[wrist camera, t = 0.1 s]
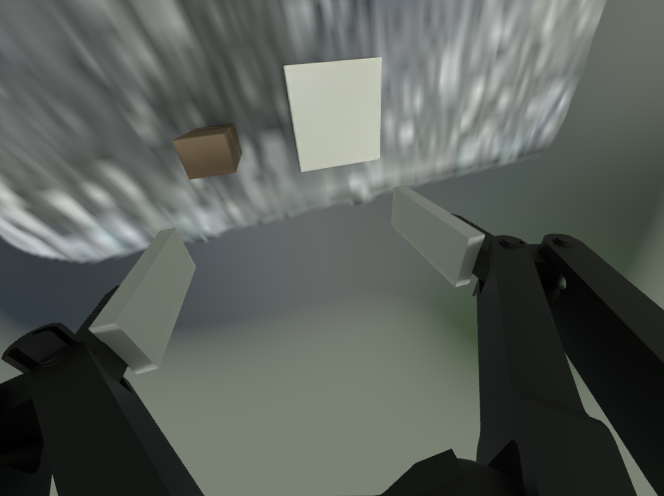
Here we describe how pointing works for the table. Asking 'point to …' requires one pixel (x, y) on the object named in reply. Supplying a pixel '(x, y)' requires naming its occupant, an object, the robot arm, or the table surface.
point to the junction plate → (335, 111)
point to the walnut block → (209, 151)
